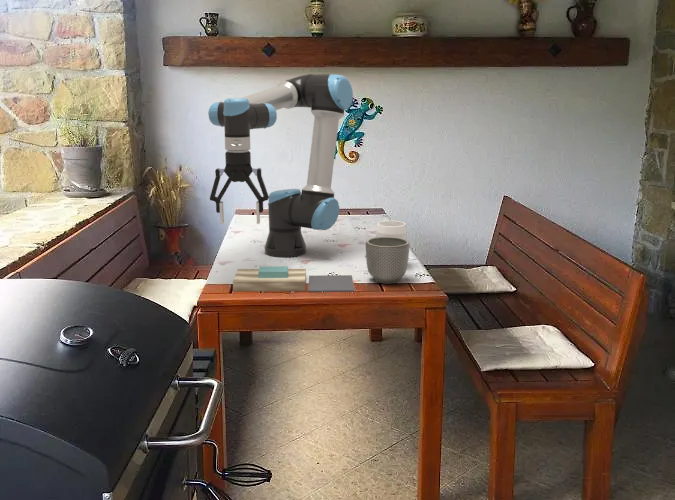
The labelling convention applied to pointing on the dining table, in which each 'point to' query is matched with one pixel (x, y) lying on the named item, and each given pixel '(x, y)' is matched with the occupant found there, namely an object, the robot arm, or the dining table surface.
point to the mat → (331, 283)
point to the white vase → (391, 229)
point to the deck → (269, 281)
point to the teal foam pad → (273, 272)
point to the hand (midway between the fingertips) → (240, 222)
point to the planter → (387, 258)
